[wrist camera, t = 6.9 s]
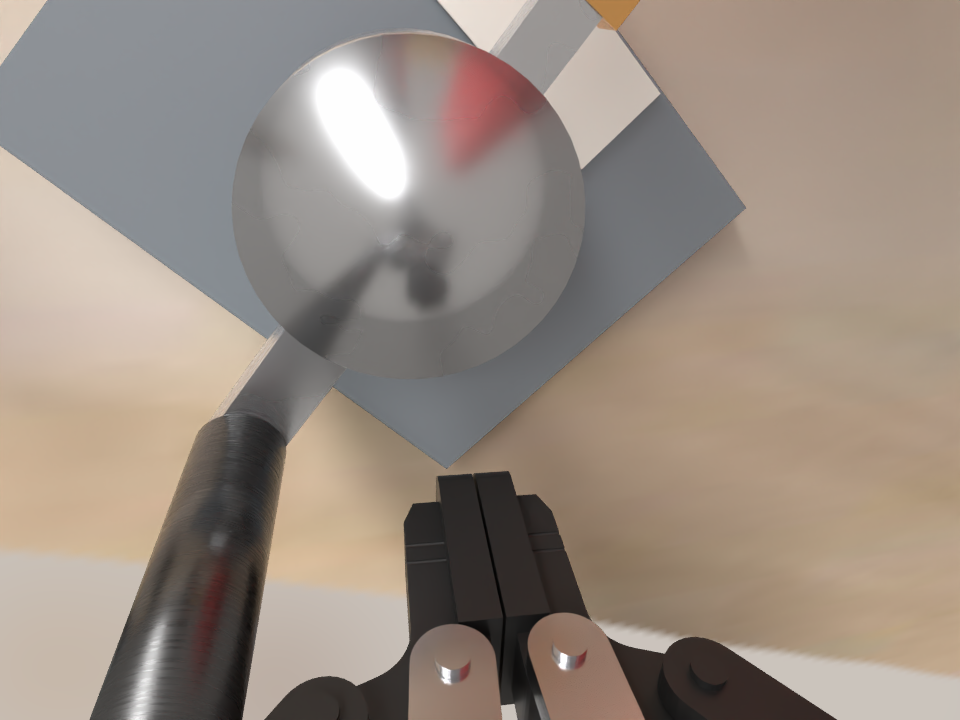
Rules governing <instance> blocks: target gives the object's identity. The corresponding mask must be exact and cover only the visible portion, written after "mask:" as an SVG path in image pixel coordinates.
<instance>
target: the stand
mask: <svg viewBox="0 0 960 720" xmlns="http://www.w3.org/2000/svg"><path fill="white" fill-rule="evenodd" d="M526 1H527V0H47V2H46V3H45V4H44V6H43V7H42V9H41V10H40V11H39V13H38V14H37V16H36V17H35V18H34V20H33V21H32V23H31V24H30V25H29V27H28V28H27V30H26V31H25V32H24V34H23V35H22V37H21V38H20V39H19V41H18V42H17V44H16V45H15V46H14V48H13V49H12V51H11V52H10V53H9V55H8V56H7V58H6V59H5V60H4V62H3V63H2V64H1V66H0V146H1V147H3V148H4V149H5V150H7V151H8V152H10V153H11V154H12V155H14V156H15V157H16V158H18V159H19V160H21V161H22V162H23V163H25V164H26V165H27V166H29V167H30V168H32V169H33V170H34V171H36V172H37V173H39V174H40V175H41V176H43V177H44V178H45V179H47V180H48V181H50V182H51V183H52V184H54V185H55V186H56V187H58V188H59V189H61V190H62V191H63V192H65V193H66V194H68V195H69V196H70V197H72V198H73V199H74V200H76V201H77V202H79V203H80V204H81V205H83V206H84V207H85V208H87V209H88V210H90V211H91V212H92V213H94V214H95V215H97V216H98V217H99V218H101V219H102V220H103V221H105V222H106V223H108V224H109V225H110V226H112V227H113V228H114V229H116V230H117V231H119V232H120V233H121V234H123V235H124V236H126V237H127V238H128V239H130V240H131V241H132V242H134V243H135V244H137V245H138V246H139V247H141V248H142V249H143V250H145V251H146V252H148V253H149V254H150V255H152V256H153V257H154V258H156V259H157V260H159V261H160V262H161V263H163V264H164V265H166V266H167V267H168V268H170V269H171V270H172V271H174V272H175V273H177V274H178V275H179V276H181V277H182V278H183V279H185V280H186V281H188V282H189V283H190V284H192V285H193V286H195V287H196V288H197V289H199V290H200V291H201V292H203V293H204V294H206V295H207V296H208V297H210V298H211V299H212V300H214V301H215V302H217V303H218V304H219V305H221V306H222V307H224V308H225V309H226V310H228V311H229V312H230V313H232V314H233V315H235V316H236V317H237V318H239V319H240V320H241V321H243V322H244V323H246V324H247V325H248V326H250V327H251V328H253V329H254V330H255V331H257V332H258V333H259V334H261V335H262V336H264V337H265V338H266V339H268V338H269V337H270V335H271V334H272V332H273V331H274V330H275V328H276V327H277V326H278V324H279V323H278V322H277V321H276V320H275V319H274V318H273V317H272V315H271V314H270V313H269V312H268V310H267V309H266V307H265V306H264V305H263V303H262V302H261V300H260V299H259V298H258V296H257V294H256V293H255V291H254V289H253V287H252V285H251V283H250V281H249V280H248V278H247V276H246V273H245V270H244V268H243V265H242V262H241V260H240V257H239V254H238V250H237V245H236V241H235V237H234V232H233V220H232V190H233V181H234V176H235V171H236V166H237V161H238V158H239V156H240V153H241V150H242V147H243V144H244V141H245V139H246V136H247V135H248V133H249V131H250V129H251V127H252V125H253V123H254V121H255V119H256V118H257V116H258V114H259V113H260V112H261V110H262V109H263V108H264V106H265V105H266V103H267V102H268V101H269V99H270V98H271V97H272V95H273V94H274V93H275V92H276V91H277V90H278V89H279V87H280V86H281V85H282V84H283V83H284V82H285V81H286V80H287V79H288V78H289V77H290V76H291V75H292V74H293V73H294V72H295V71H296V70H297V69H298V68H299V67H300V66H301V65H302V64H303V63H304V62H306V61H307V60H308V59H310V58H311V57H312V56H314V55H315V54H316V53H318V52H319V51H321V50H323V49H325V48H327V47H328V46H330V45H332V44H334V43H336V42H338V41H340V40H343V39H345V38H348V37H351V36H354V35H357V34H359V33H364V32H369V31H374V30H379V29H390V28H412V29H422V30H429V31H433V32H437V33H441V34H445V35H449V36H451V37H454V38H456V39H459V40H461V41H464V42H466V43H469V44H471V45H473V46H475V47H478V48H480V49H482V50H484V51H487V52H488V53H489V52H490V51H491V49H492V48H493V46H494V45H495V44H496V42H497V41H498V40H499V38H500V37H501V35H502V34H503V33H504V31H505V30H506V28H507V27H508V26H509V24H510V23H511V22H512V20H513V19H514V17H515V16H516V15H517V13H518V12H519V11H520V9H521V8H522V6H523V5H524V4H525V2H526ZM544 96H545V97H546V99H547V100H548V102H549V103H550V104H551V106H552V107H553V108H554V110H555V111H556V113H557V114H558V115H559V117H560V119H561V121H562V122H563V124H564V126H565V128H566V130H567V132H568V134H569V136H570V137H571V140H572V143H573V145H574V148H575V151H576V154H577V156H578V159H579V163H580V168H581V172H582V177H583V182H584V193H585V225H584V231H583V237H582V242H581V247H580V251H579V254H578V257H577V260H576V264H575V267H574V269H573V271H572V274H571V276H570V278H569V280H568V282H567V285H566V287H565V288H564V290H563V292H562V293H561V295H560V297H559V298H558V300H557V302H556V303H555V304H554V306H553V307H552V308H551V310H550V311H549V312H548V313H547V315H546V316H545V317H544V319H543V320H542V321H541V322H540V323H539V324H538V325H537V326H536V327H535V328H534V329H533V330H532V331H531V332H530V333H529V334H528V335H527V336H525V337H524V338H523V339H522V340H520V341H519V342H518V343H517V344H515V345H514V346H513V347H511V348H510V349H508V350H506V351H505V352H503V353H502V354H500V355H499V356H497V357H495V358H493V359H491V360H489V361H487V362H485V363H483V364H481V365H479V366H476V367H473V368H470V369H467V370H464V371H462V372H459V373H454V374H450V375H445V376H441V377H434V378H425V379H393V378H384V377H377V376H373V375H368V374H364V373H360V372H356V371H354V370H351V369H348V368H347V369H346V370H345V371H344V373H343V374H342V375H341V376H340V378H339V379H338V380H337V382H336V383H335V384H334V385H333V387H334V388H335V389H337V390H338V391H339V392H341V393H342V394H344V395H345V396H346V397H348V398H349V399H351V400H352V401H353V402H355V403H356V404H357V405H359V406H360V407H362V408H363V409H364V410H366V411H367V412H368V413H370V414H371V415H373V416H374V417H375V418H377V419H378V420H380V421H381V422H382V423H384V424H385V425H386V426H388V427H389V428H391V429H392V430H393V431H395V432H396V433H397V434H399V435H400V436H402V437H403V438H404V439H406V440H407V441H409V442H410V443H411V444H413V445H414V446H415V447H417V448H418V449H420V450H421V451H422V452H424V453H425V454H426V455H428V456H429V457H431V458H432V459H433V460H435V461H436V462H438V463H439V464H440V465H442V466H443V467H444V468H446V469H447V468H448V467H449V466H451V465H452V464H453V463H454V462H455V461H456V460H457V459H459V458H460V457H461V456H462V455H463V454H464V453H465V452H467V451H468V450H469V449H470V448H471V447H472V446H474V445H475V444H476V443H477V442H478V441H479V440H480V439H482V438H483V437H484V436H485V435H486V434H487V433H488V432H490V431H491V430H492V429H493V428H494V427H495V426H496V425H498V424H499V423H500V422H501V421H502V420H503V419H504V418H506V417H507V416H508V415H509V414H510V413H511V412H513V411H514V410H515V409H516V408H517V407H518V406H519V405H521V404H522V403H523V402H524V401H525V400H526V399H527V398H529V397H530V396H531V395H532V394H533V393H534V392H535V391H537V390H538V389H539V388H540V387H541V386H542V385H544V384H545V383H546V382H547V381H548V380H549V379H550V378H552V377H553V376H554V375H555V374H556V373H557V372H558V371H560V370H561V369H562V368H563V367H564V366H565V365H566V364H568V363H569V362H570V361H571V360H572V359H573V358H574V357H576V356H577V355H578V354H579V353H580V352H581V351H583V350H584V349H585V348H586V347H587V346H588V345H589V344H591V343H592V342H593V341H594V340H595V339H596V338H597V337H599V336H600V335H601V334H602V333H603V332H604V331H605V330H607V329H608V328H609V327H610V326H611V325H612V324H614V323H615V322H616V321H617V320H618V319H619V318H620V317H622V316H623V315H624V314H625V313H626V312H627V311H628V310H630V309H631V308H632V307H633V306H634V305H635V304H636V303H638V302H639V301H640V300H641V299H642V298H643V297H644V296H646V295H647V294H648V293H649V292H650V291H651V290H653V289H654V288H655V287H656V286H657V285H658V284H659V283H661V282H662V281H663V280H664V279H665V278H666V277H667V276H669V275H670V274H671V273H672V272H673V271H674V270H675V269H677V268H678V267H679V266H680V265H681V264H682V263H684V262H685V261H686V260H687V259H688V258H689V257H690V256H692V255H693V254H694V253H695V252H696V251H697V250H698V249H700V248H701V247H702V246H703V245H704V244H705V243H706V242H708V241H709V240H710V239H711V238H712V237H713V236H714V235H716V234H717V233H718V232H719V231H720V230H721V229H723V228H724V227H725V226H726V225H727V224H728V223H729V222H731V221H732V220H733V219H734V218H735V217H736V216H737V215H739V214H740V213H741V212H742V211H743V210H744V209H745V208H746V207H745V206H744V204H743V203H742V201H741V200H740V199H739V197H738V196H737V194H736V193H735V192H734V190H733V189H732V188H731V186H730V185H729V183H728V182H727V181H726V179H725V178H724V176H723V175H722V174H721V172H720V171H719V170H718V168H717V167H716V165H715V164H714V163H713V161H712V160H711V158H710V157H709V156H708V154H707V153H706V151H705V150H704V149H703V147H702V146H701V145H700V143H699V142H698V140H697V139H696V138H695V136H694V135H693V133H692V132H691V131H690V129H689V128H688V127H687V125H686V124H685V122H684V121H683V120H682V118H681V117H680V115H679V114H678V113H677V111H676V110H675V109H674V107H673V106H672V104H671V103H670V102H669V100H668V99H667V97H666V96H665V95H664V93H663V92H662V91H661V89H660V88H659V86H658V85H657V84H656V82H655V81H654V79H653V78H652V77H651V75H650V74H649V73H648V71H647V70H646V68H645V67H644V66H643V64H642V63H641V61H640V60H639V59H638V57H637V56H636V54H635V53H634V52H633V50H632V49H631V48H630V46H629V45H628V43H627V42H626V41H625V39H624V38H623V36H622V35H621V34H620V32H619V31H618V30H617V31H614V30H607V29H600V28H598V27H597V26H596V27H595V28H594V30H593V31H592V32H591V34H590V35H589V36H588V37H587V39H586V40H585V41H584V43H583V44H582V45H581V47H580V48H579V49H578V50H577V52H576V53H575V54H574V56H573V57H572V58H571V60H570V61H569V62H568V63H567V65H566V66H565V67H564V69H563V70H562V71H561V73H560V74H559V75H558V76H557V78H556V79H555V80H554V82H553V83H552V84H551V85H550V87H549V88H548V89H547V91H546V92H545V93H544Z"/></svg>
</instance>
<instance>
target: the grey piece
mask: <svg viewBox="0 0 960 720" xmlns="http://www.w3.org/2000/svg"><path fill="white" fill-rule="evenodd" d="M639 1H640V0H527V1H526V2H525V4H524V5H523V6H522V8H521V9H520V11H519V12H518V13H517V15H516V16H515V17H514V19H513V20H512V22H511V23H510V24H509V26H508V27H507V28H506V30H505V31H504V33H503V34H502V35H501V37H500V38H499V40H498V41H497V42H496V44H495V45H494V46H493V48H492V49H491V51H490V52H489V53H488V52H487V51H484V50H482V49H480V48H478V47H475V46H473V45H471V44H469V43H466V42H464V41H461V40H459V39H456V38H454V37H451V36H449V35H445V34H441V33H437V32H433V31H429V30H422V29H412V28H390V29H379V30H374V31H369V32H364V33H359V34H357V35H354V36H351V37H348V38H345V39H343V40H340V41H338V42H336V43H334V44H332V45H330V46H328V47H327V48H325V49H323V50H321V51H319V52H318V53H316V54H315V55H314V56H312V57H311V58H310V59H308V60H307V61H306V62H304V63H303V64H302V65H301V66H300V67H299V68H298V69H297V70H296V71H295V72H294V73H293V74H292V75H291V76H290V77H289V78H288V79H287V80H286V81H285V82H284V83H283V84H282V85H281V86H280V87H279V89H278V90H277V91H276V92H275V93H274V94H273V95H272V97H271V98H270V99H269V101H268V102H267V103H266V105H265V106H264V108H263V109H262V110H261V112H260V113H259V114H258V116H257V118H256V119H255V121H254V123H253V125H252V127H251V129H250V131H249V133H248V135H247V136H246V139H245V141H244V144H243V147H242V150H241V153H240V156H239V158H238V161H237V166H236V171H235V176H234V181H233V190H232V220H233V232H234V237H235V241H236V245H237V250H238V254H239V257H240V260H241V262H242V265H243V268H244V270H245V273H246V276H247V278H248V280H249V281H250V283H251V285H252V287H253V289H254V291H255V293H256V294H257V296H258V298H259V299H260V300H261V302H262V303H263V305H264V306H265V307H266V309H267V310H268V312H269V313H270V314H271V315H272V317H273V318H274V319H275V320H276V321H277V322H278V323H279V324H278V326H277V327H276V328H275V330H274V331H273V332H272V334H271V335H270V337H269V338H268V339H267V341H266V342H265V344H264V345H263V346H262V348H261V349H260V351H259V352H258V353H257V355H256V356H255V358H254V359H253V360H252V362H251V363H250V365H249V366H248V367H247V369H246V370H245V372H244V373H243V374H242V376H241V377H240V378H239V380H238V381H237V383H236V384H235V385H234V387H233V388H232V390H231V391H230V392H229V394H228V395H227V397H226V398H225V399H224V401H223V402H222V404H221V405H220V406H219V408H218V409H217V411H216V412H215V413H214V415H213V416H212V418H211V419H210V420H209V422H208V423H207V424H205V425H204V426H203V427H202V428H201V430H200V431H199V432H198V434H197V436H196V438H195V441H194V443H193V446H192V449H191V451H190V454H189V457H188V459H187V462H186V465H185V467H184V470H183V473H182V475H181V478H180V481H179V483H178V486H177V489H176V491H175V494H174V497H173V499H172V502H171V505H170V507H169V510H168V513H167V515H166V518H165V520H164V523H163V526H162V528H161V531H160V534H159V536H158V539H157V542H156V544H155V547H154V550H153V552H152V555H151V558H150V560H149V563H148V566H147V568H146V571H145V574H144V576H143V579H142V582H141V584H140V587H139V590H138V592H137V595H136V598H135V600H134V603H133V606H132V608H131V611H130V614H129V616H128V619H127V622H126V624H125V627H124V629H123V632H122V635H121V637H120V640H119V643H118V645H117V648H116V651H115V654H114V656H113V659H112V661H111V664H110V667H109V669H108V672H107V675H106V677H105V680H104V683H103V685H102V688H101V691H100V693H99V696H98V699H97V702H96V704H95V707H94V709H93V712H92V715H91V717H90V720H242V717H243V711H244V705H245V699H246V693H247V687H248V681H249V675H250V669H251V663H252V657H253V651H254V645H255V638H256V633H257V627H258V620H259V615H260V609H261V603H262V596H263V590H264V584H265V578H266V572H267V566H268V560H269V554H270V548H271V542H272V536H273V530H274V524H275V518H276V512H277V506H278V500H279V494H280V488H281V482H282V476H283V470H284V464H285V458H286V446H287V444H288V443H289V442H290V441H291V439H292V438H293V437H294V435H295V434H296V433H297V432H298V430H299V429H300V428H301V426H302V425H303V424H304V423H305V421H306V420H307V419H308V417H309V416H310V415H311V414H312V412H313V411H314V410H315V408H316V407H317V406H318V405H319V403H320V402H321V401H322V399H323V398H324V397H325V396H326V394H327V393H328V392H329V390H330V389H331V388H332V387H333V385H334V384H335V383H336V382H337V380H338V379H339V378H340V376H341V375H342V374H343V373H344V371H345V370H346V369H347V368H348V369H351V370H354V371H356V372H360V373H364V374H368V375H373V376H377V377H384V378H393V379H425V378H434V377H441V376H445V375H450V374H454V373H459V372H462V371H464V370H467V369H470V368H473V367H476V366H479V365H481V364H483V363H485V362H487V361H489V360H491V359H493V358H495V357H497V356H499V355H500V354H502V353H503V352H505V351H506V350H508V349H510V348H511V347H513V346H514V345H515V344H517V343H518V342H519V341H520V340H522V339H523V338H524V337H525V336H527V335H528V334H529V333H530V332H531V331H532V330H533V329H534V328H535V327H536V326H537V325H538V324H539V323H540V322H541V321H542V320H543V319H544V317H545V316H546V315H547V313H548V312H549V311H550V310H551V308H552V307H553V306H554V304H555V303H556V302H557V300H558V298H559V297H560V295H561V293H562V292H563V290H564V288H565V287H566V285H567V282H568V280H569V278H570V276H571V274H572V271H573V269H574V267H575V264H576V260H577V257H578V254H579V251H580V247H581V242H582V237H583V231H584V225H585V193H584V182H583V177H582V172H581V168H580V163H579V159H578V156H577V154H576V151H575V148H574V145H573V143H572V140H571V137H570V136H569V134H568V132H567V130H566V128H565V126H564V124H563V122H562V121H561V119H560V117H559V115H558V114H557V113H556V111H555V110H554V108H553V107H552V106H551V104H550V103H549V102H548V100H547V99H546V97H545V96H544V93H545V92H546V91H547V89H548V88H549V87H550V85H551V84H552V83H553V82H554V80H555V79H556V78H557V76H558V75H559V74H560V73H561V71H562V70H563V69H564V67H565V66H566V65H567V63H568V62H569V61H570V60H571V58H572V57H573V56H574V54H575V53H576V52H577V50H578V49H579V48H580V47H581V45H582V44H583V43H584V41H585V40H586V39H587V37H588V36H589V35H590V34H591V32H592V31H593V30H594V28H595V27H596V26H597V27H598V28H600V29H607V30H614V31H617V29H618V28H619V27H620V25H621V24H622V23H623V22H624V20H625V19H626V18H627V16H628V15H629V14H630V13H631V11H632V10H633V9H634V8H635V6H636V5H637V4H638V2H639Z"/></svg>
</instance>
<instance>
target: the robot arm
mask: <svg viewBox="0 0 960 720" xmlns="http://www.w3.org/2000/svg"><path fill="white" fill-rule="evenodd" d="M404 545H405V575H406V592H407V607H408V623H409V638H410V641H409V645H408V647H407V650H406V652H405V653H404V655H403V657H402V658H401V659H400V660H399V662H398V663H397V664H396V665H395V666H393V667H392V668H391V669H390V670H389V671H387V672H386V673H384V674H382V675H380V676H378V677H376V678H374V679H372V680H369V681H367V682H365V683H363V684H360V685H358V686H355V685H354V684H353V683H351V682H349V681H347V680H345V679H342V678H339V677H331V676H327V677H318V678H314V679H311V680H308V681H306V682H304V683H302V684H300V685H298V686H297V687H296V688H294V689H293V690H292V691H290V692H289V693H288V694H287V695H286V696H285V697H284V698H283V700H282V701H281V702H280V703H279V704H278V705H277V706H276V707H275V708H274V710H273V711H272V712H271V713H270V714H269V715H268V716H267V718H266V719H265V720H502V713H501V705H507V704H515V708H516V713H517V718H518V720H837V719H835V718H834V717H832V716H831V715H829V714H827V713H826V712H824V711H823V710H821V709H820V708H818V707H817V706H815V705H814V704H812V703H811V702H809V701H808V700H806V699H805V698H803V697H801V696H800V695H798V694H797V693H795V692H794V691H792V690H791V689H789V688H788V687H786V686H785V685H783V684H782V683H780V682H778V681H777V680H776V679H774V678H772V677H771V676H769V675H768V674H766V673H765V672H763V671H762V670H760V669H759V668H757V667H756V666H754V665H752V664H751V663H749V662H748V661H746V660H745V659H743V658H742V657H740V656H739V655H737V654H736V653H734V652H733V651H731V650H730V649H728V648H727V647H725V646H723V645H721V644H720V643H717V642H715V641H712V640H709V639H705V638H699V637H689V638H684V639H681V640H678V641H676V642H675V643H673V644H672V645H671V646H670V647H669V648H668V650H667V651H666V653H665V654H663V653H658V652H652V651H647V650H642V649H637V648H633V647H628V646H625V645H623V644H620V643H618V642H616V641H614V640H612V639H610V638H609V637H607V636H606V634H605V633H604V632H603V631H602V629H601V628H600V627H599V626H597V625H596V624H595V623H594V622H592V620H591V619H590V617H589V615H588V613H587V611H586V608H585V605H584V602H583V599H582V596H581V594H580V591H579V588H578V585H577V582H576V579H575V576H574V573H573V571H572V568H571V565H570V562H569V559H568V556H567V553H566V551H565V550H564V545H563V542H562V539H561V536H560V535H559V530H558V528H557V525H556V522H555V519H554V516H553V513H552V511H551V510H550V509H549V508H548V507H547V506H546V504H545V503H544V502H543V501H542V500H541V499H540V498H539V497H538V496H537V495H536V494H533V495H520V496H516V492H515V489H514V485H513V482H512V478H511V475H510V473H509V471H503V472H489V473H474V474H473V475H472V474H462V475H448V476H437V478H436V502H429V503H416V504H413V505H412V507H411V509H410V511H409V513H408V515H407V517H406V519H405V521H404Z"/></svg>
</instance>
